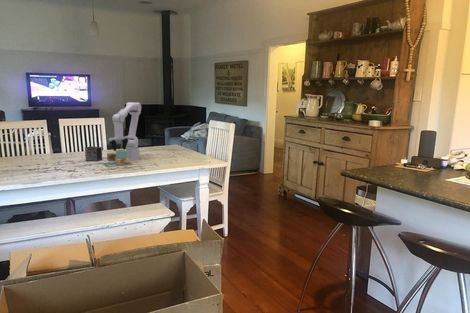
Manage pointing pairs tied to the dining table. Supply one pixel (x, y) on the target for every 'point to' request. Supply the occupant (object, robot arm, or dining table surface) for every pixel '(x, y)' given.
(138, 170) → the dining table surface
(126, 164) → the placemat
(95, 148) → the small box
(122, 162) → the oak block
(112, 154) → the walnut block
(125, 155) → the teal block
